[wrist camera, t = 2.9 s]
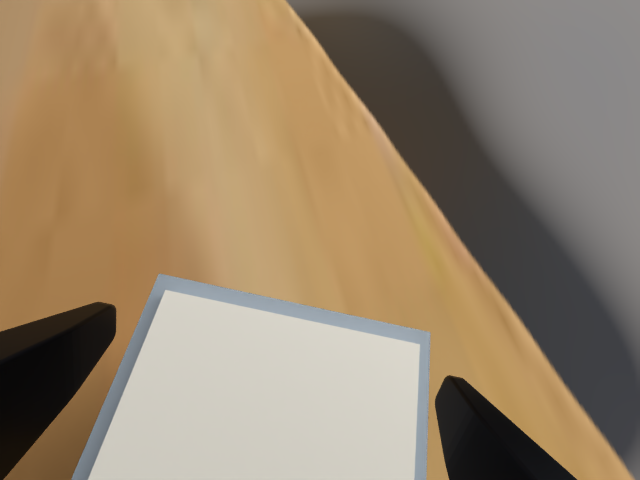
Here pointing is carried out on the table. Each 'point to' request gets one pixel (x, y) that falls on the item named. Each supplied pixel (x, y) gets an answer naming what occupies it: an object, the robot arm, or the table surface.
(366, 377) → the tin
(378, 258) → the table surface
